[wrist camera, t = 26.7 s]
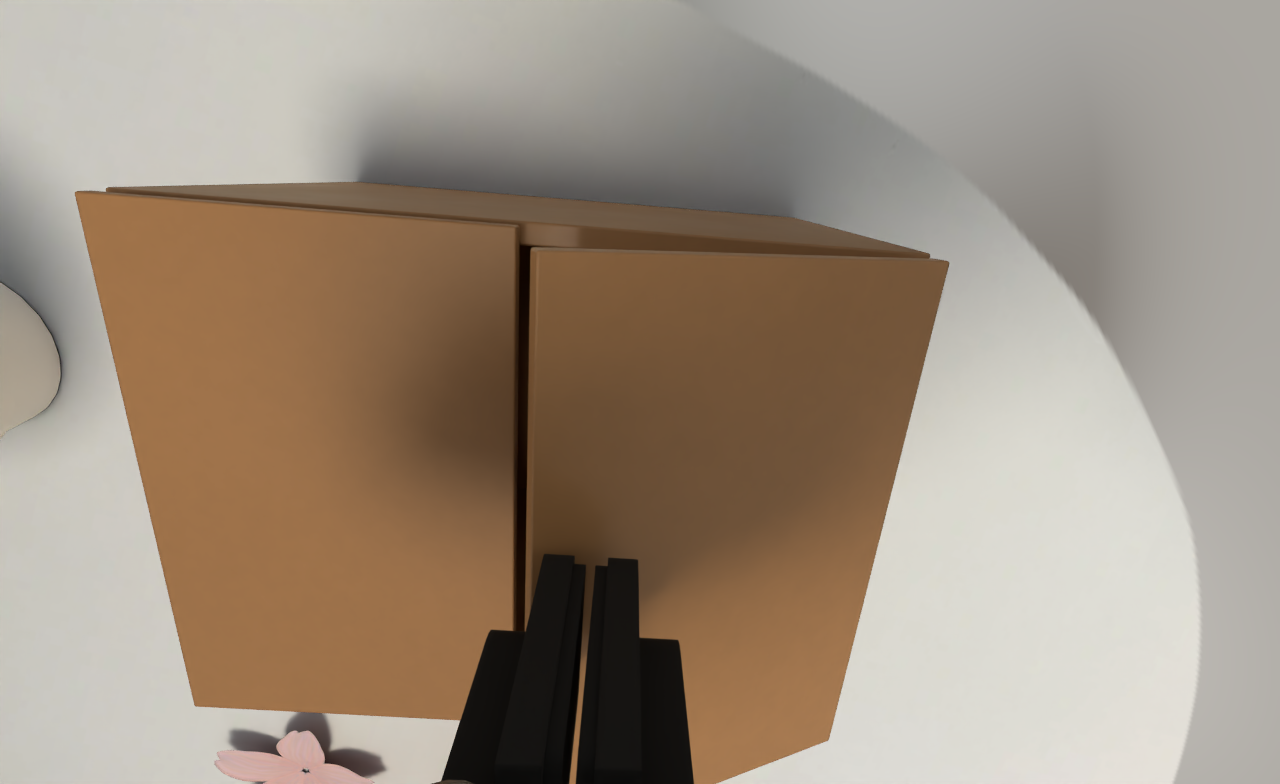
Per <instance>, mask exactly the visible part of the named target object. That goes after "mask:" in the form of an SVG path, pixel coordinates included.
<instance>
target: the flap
mask: <svg viewBox="0 0 1280 784" xmlns="http://www.w3.org/2000/svg"><path fill="white" fill-rule="evenodd" d="M948 267H949V262H948V261H944V260H939V259H925V258H891V257H857V256H822V255H788V254H754V253H720V252H686V251H651V250H617V249H583V248H549V247H533V248H531V252H530V317H529V383H528V448H527V514H526V579H525V631H526V628H527V623H528V619H529V615H530V611H531V606H532V602H533V598H534V593H535V589H536V585H537V581H538V576H539V572H540V568H541V564H542V559H543V556H544V554H556V555H573V556H575V564H583V565H586V575H585V593H584V610H583V628H582V646H581V663H580V681H579V694H578V705H577V715H576V724H575V734H574V744H573V753H572V763H571V773H570V782H569V784H576V771H577V758H578V746H579V735H580V725H581V714H582V704H583V693H584V682H585V672H586V661H587V651H588V640H589V629H590V619H591V608H592V598H593V587H594V576H595V566H596V565H600V566H608V558H624V559H638V572H639V636H640V638H656V639H674V640H678V641H679V644H680V651H681V660H682V670H683V680H684V690H685V700H686V710H687V719H688V729H689V739H690V749H691V759H692V769H693V778H694V784H716V783H719V782H721V781H724V780H726V779H729V778H732V777H734V776H737V775H739V774H742V773H745V772H747V771H750V770H752V769H755V768H758V767H760V766H763V765H765V764H768V763H771V762H773V761H776V760H778V759H781V758H784V757H786V756H789V755H791V754H794V753H797V752H799V751H802V750H804V749H807V748H810V747H812V746H815V745H818V744H820V743H823V742H825V741H828V740H829V737H830V733H831V729H832V725H833V721H834V717H835V713H836V709H837V705H838V701H839V697H840V693H841V689H842V685H843V681H844V677H845V673H846V670H847V666H848V662H849V658H850V654H851V650H852V646H853V642H854V638H855V634H856V630H857V626H858V622H859V618H860V614H861V610H862V606H863V602H864V598H865V594H866V590H867V587H868V583H869V579H870V575H871V571H872V567H873V563H874V559H875V555H876V551H877V547H878V543H879V539H880V535H881V531H882V527H883V523H884V519H885V515H886V511H887V508H888V504H889V500H890V496H891V492H892V488H893V484H894V480H895V476H896V472H897V468H898V464H899V460H900V456H901V452H902V448H903V444H904V440H905V436H906V432H907V429H908V425H909V421H910V417H911V413H912V409H913V405H914V401H915V397H916V393H917V389H918V385H919V381H920V377H921V373H922V369H923V365H924V361H925V357H926V353H927V349H928V346H929V342H930V338H931V334H932V330H933V326H934V322H935V318H936V314H937V310H938V306H939V302H940V298H941V294H942V290H943V286H944V282H945V278H946V274H947V270H948Z"/></svg>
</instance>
